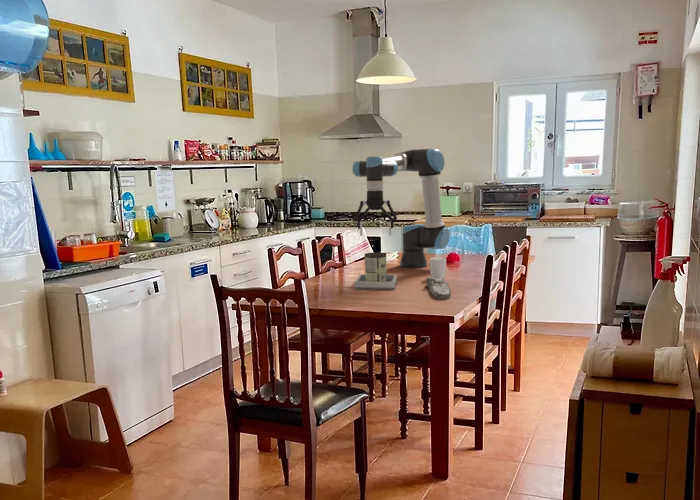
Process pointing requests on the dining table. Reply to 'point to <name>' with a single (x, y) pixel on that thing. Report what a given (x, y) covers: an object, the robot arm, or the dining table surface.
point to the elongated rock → (438, 288)
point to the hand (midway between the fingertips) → (375, 235)
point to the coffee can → (375, 267)
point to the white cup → (437, 267)
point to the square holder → (376, 283)
